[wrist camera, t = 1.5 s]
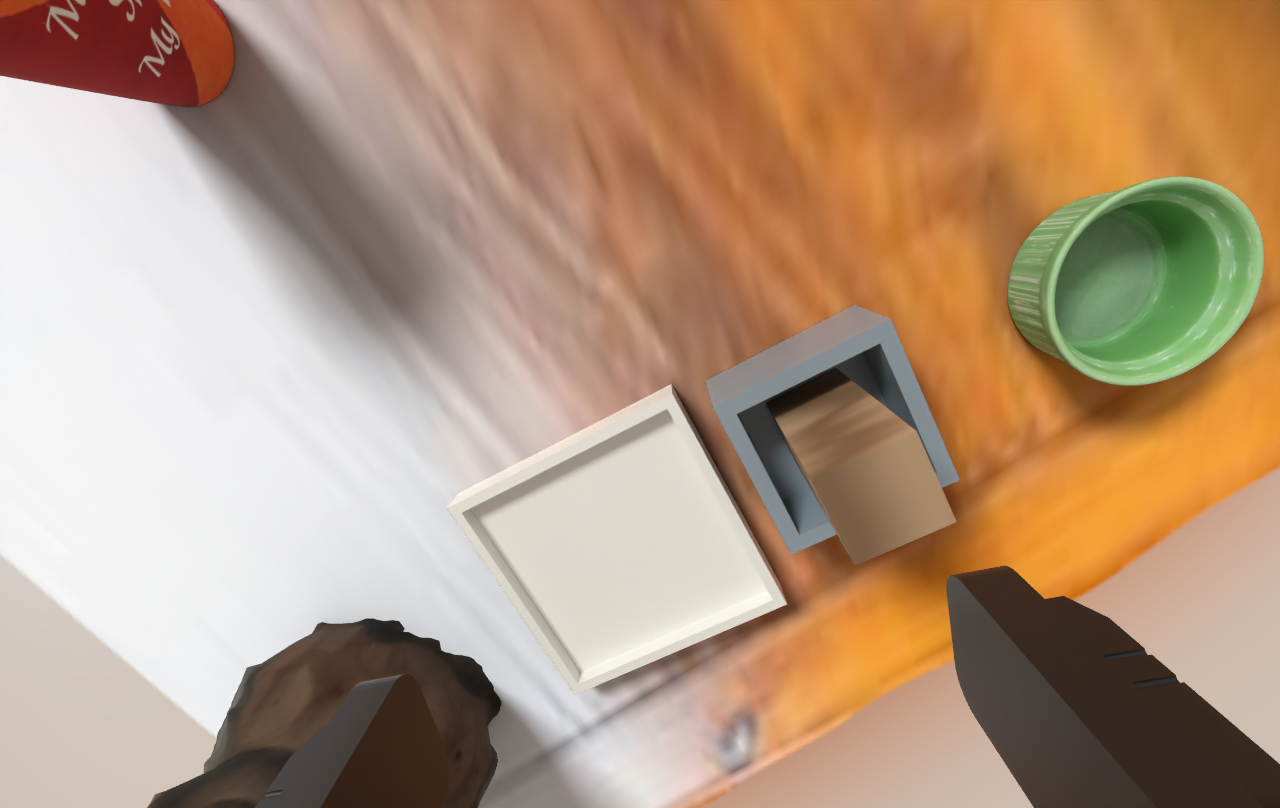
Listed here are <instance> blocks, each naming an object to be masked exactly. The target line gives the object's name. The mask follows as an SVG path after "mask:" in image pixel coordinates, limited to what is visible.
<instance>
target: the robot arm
mask: <svg viewBox="0 0 1280 808" xmlns="http://www.w3.org/2000/svg"><path fill="white" fill-rule="evenodd" d="M947 598H948V607H949V616H950V624H951V633H952V642H953V651H954V660H955V667H956V671H957V676H958V680H959V683H960V686H961V689H962V691H963V694H964V696H965V698H966V701H967V703H968V705H969V707H970V709H971V711H972V713H973V714H974V716H975V718H976V719H977V721H978V722H979V724H980V725H981V727H982V728H983V730H984V732H985V733H986V735H987V736H988V738H989V739H990V740H991V742H992V744H993V745H994V747H995V748H996V750H997V752H998V753H999V754H1000V756H1001V758H1002V759H1003V761H1004V762H1005V764H1006V765H1007V767H1008V768H1009V770H1010V771H1011V773H1012V774H1013V776H1014V778H1015V779H1016V781H1017V782H1018V784H1019V785H1020V787H1021V788H1022V790H1023V791H1024V793H1025V795H1026V796H1027V798H1028V799H1029V801H1030V802H1031V804H1032V805H1033V807H1034V808H1280V764H1279V763H1278V762H1276V761H1275V760H1274V759H1273V758H1272V757H1271V756H1269V755H1268V754H1267V753H1266V752H1265V751H1264V750H1263V749H1261V748H1260V747H1259V746H1258V745H1257V744H1255V743H1254V742H1253V741H1252V740H1251V739H1250V738H1249V737H1247V736H1246V735H1245V734H1244V733H1243V732H1242V731H1240V730H1239V729H1238V728H1237V727H1236V726H1235V725H1233V724H1232V723H1231V722H1229V720H1228V719H1226V718H1225V717H1224V716H1223V715H1221V714H1220V713H1219V712H1218V711H1217V710H1216V709H1215V708H1213V707H1212V706H1211V705H1210V704H1209V703H1208V702H1207V701H1205V700H1204V699H1203V698H1202V697H1201V696H1199V695H1198V694H1197V693H1196V692H1195V691H1194V690H1192V689H1191V688H1190V687H1189V686H1188V685H1187V684H1185V683H1184V682H1183V683H1180V682H1179V681H1178V680H1177V678H1176V675H1175V674H1174V673H1173V672H1171V671H1170V670H1169V669H1168V668H1167V667H1165V666H1164V665H1163V664H1162V663H1161V662H1160V661H1158V660H1157V659H1156V658H1155V657H1154V656H1153V655H1147V653H1146V652H1145V649H1144V648H1143V647H1142V646H1141V645H1140V644H1139V643H1138V642H1136V641H1135V640H1134V639H1133V638H1131V636H1129V635H1128V634H1127V633H1126V632H1125V631H1124V630H1122V629H1121V628H1120V627H1119V626H1117V624H1115V623H1114V622H1113V621H1112V620H1111V619H1110V618H1108V617H1106V616H1104V615H1102V614H1100V613H1098V612H1096V611H1093V610H1092V609H1089V608H1087V607H1085V606H1083V605H1081V604H1079V603H1077V602H1075V601H1073V600H1071V599H1069V598H1067V597H1065V596H1060V597H1055V598H1049V599H1044V598H1043V597H1042V596H1041V595H1040V594H1039V593H1038V592H1037V591H1036V590H1035V589H1033V588H1032V587H1031V586H1030V585H1029V584H1028V583H1027V582H1026V581H1025V580H1024V579H1023V578H1022V577H1021V576H1020V575H1019V574H1018V573H1017V572H1016V571H1014V570H1013V569H1012V568H1010V567H1008V566H1000V567H995V568H989V569H984V570H978V571H973V572H967V573H962V574H957V575H951V576H949V577H948V579H947ZM448 780H449V763H448V756H447V752H446V749H445V746H444V744H443V741H442V739H441V737H440V734H439V732H438V729H437V727H436V724H435V722H434V720H433V717H432V715H431V712H430V710H429V707H428V705H427V703H426V700H425V698H424V695H423V693H422V690H421V688H420V686H419V684H418V682H417V680H416V679H415V678H414V677H413V676H412V675H410V674H403V675H397V676H392V677H386V678H381V679H375V680H370V681H364V682H360V683H358V684H356V685H355V686H354V687H353V688H352V689H351V691H350V692H349V693H348V695H347V696H346V698H345V699H344V701H343V702H342V704H341V705H340V707H339V708H338V710H337V711H336V713H335V714H334V716H333V717H332V718H331V720H330V721H329V723H328V724H326V725H324V726H323V727H322V728H321V729H319V730H318V731H317V732H316V733H315V734H314V735H313V736H312V737H311V738H310V739H309V740H308V741H307V742H306V743H305V744H304V745H303V746H302V747H300V748H299V749H298V750H297V751H296V752H295V753H294V754H293V755H292V756H291V757H290V758H289V760H288V761H287V763H286V764H285V766H284V767H283V768H282V770H281V771H280V773H279V774H278V775H277V777H276V778H275V780H274V781H273V782H272V784H271V785H270V787H269V788H268V790H267V791H266V797H265V799H261V800H260V801H259V802H258V804H257V805H256V806H255V808H441V807H442V804H443V802H444V799H445V796H446V792H447V787H448Z"/></svg>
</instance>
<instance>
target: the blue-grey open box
mask: <svg viewBox="0 0 1280 808" xmlns="http://www.w3.org/2000/svg"><path fill="white" fill-rule="evenodd" d="M835 368H837V369H838V370H839V371H841V372H842V373H843V374H845V375H846V376H847V377H848V378H850V379H851V380H852V381H853V382H855V383H856V384H857V385H859V386H860V387H861V388H862V389H864V390H865V391H866V392H867V393H869V394H870V395H871V396H873V397H874V398H875V399H876V400H878V401H879V402H880V403H881V404H883V405H884V406H885V407H887V408H888V409H889V410H890V411H892V412H893V413H894V414H895V415H897V416H898V417H899V418H901V419H902V420H903V421H904V422H906V423H907V424H908V425H909V426H911V427H912V428H913V429H915V430H916V431H917V433H918V435H919V437H920V440H921V442H922V444H923V447H924V449H925V451H926V453H927V456H928V458H929V460H930V462H931V465H932V467H933V469H934V472H935V474H936V476H937V478H938V481H939V483H940V485H941V487H942V488H943V487H946V486H948V485H950V484H952V483H955V482H957V481H959V480H960V479H959V477H958V475H957V472H956V470H955V468H954V465H953V463H952V461H951V458H950V456H949V454H948V451H947V449H946V447H945V444H944V442H943V440H942V437H941V435H940V433H939V430H938V428H937V426H936V423H935V421H934V419H933V416H932V414H931V412H930V409H929V407H928V405H927V402H926V400H925V398H924V395H923V393H922V391H921V388H920V386H919V384H918V381H917V379H916V377H915V374H914V372H913V370H912V368H911V365H910V363H909V361H908V358H907V356H906V354H905V351H904V349H903V347H902V344H901V342H900V340H899V337H898V335H897V333H896V330H895V328H894V326H893V323H892V321H891V319H890V318H887V317H885V316H882V315H880V314H877V313H874V312H872V311H869V310H867V309H864V308H861V307H859V306H856V305H853V306H851V307H849V308H847V309H845V310H843V311H841V312H839V313H837V314H836V315H834V316H832V317H830V318H828V319H826V320H824V321H822V322H820V323H818V324H816V325H814V326H812V327H810V328H808V329H806V330H804V331H802V332H800V333H798V334H796V335H794V336H792V337H790V338H788V339H786V340H784V341H782V342H780V343H779V344H777V345H775V346H773V347H771V348H769V349H767V350H765V351H763V352H761V353H759V354H757V355H755V356H753V357H751V358H749V359H747V360H745V361H743V362H741V363H739V364H737V365H735V366H733V367H731V368H729V369H727V370H725V371H723V372H721V373H720V374H718V375H716V376H714V377H712V378H710V379H708V380H706V385H707V388H708V391H709V395H710V398H711V402H712V405H713V408H714V410H715V412H716V414H717V416H718V418H719V419H720V421H721V423H722V425H723V427H724V429H725V431H726V433H727V435H728V436H729V438H730V440H731V442H732V444H733V446H734V448H735V450H736V452H737V453H738V455H739V457H740V459H741V461H742V463H743V465H744V467H745V468H746V470H747V472H748V474H749V476H750V478H751V480H752V482H753V484H754V485H755V487H756V489H757V491H758V493H759V495H760V497H761V499H762V501H763V502H764V504H765V506H766V508H767V510H768V512H769V514H770V516H771V518H772V519H773V521H774V523H775V525H776V527H777V529H778V531H779V533H780V534H781V536H782V538H783V540H784V542H785V544H786V546H787V548H788V550H789V551H790V553H791V555H792V554H794V553H796V552H798V551H801V550H803V549H805V548H808V547H810V546H812V545H814V544H817V543H819V542H821V541H823V540H826V539H828V538H830V537H832V536H835V535H837V534H836V532H835V530H834V529H833V527H832V525H831V523H830V522H829V520H828V518H827V516H826V515H825V513H824V511H823V510H822V508H821V506H820V504H819V503H818V501H817V499H816V497H815V496H814V494H813V492H812V490H811V489H810V487H809V485H808V483H807V482H806V480H805V478H804V477H803V475H802V473H801V471H800V470H799V468H798V466H797V464H796V462H795V460H794V458H793V456H792V454H791V452H790V450H789V448H788V446H787V444H786V442H785V440H784V438H783V437H782V435H781V433H780V431H779V429H778V427H777V425H776V423H775V421H774V419H773V417H772V415H771V413H770V411H769V409H768V407H767V405H766V402H768V401H770V400H772V399H774V398H776V397H778V396H780V395H782V394H784V393H786V392H788V391H790V390H792V389H795V388H797V387H799V386H801V385H803V384H805V383H807V382H809V381H811V380H813V379H815V378H817V377H819V376H821V375H823V374H825V373H827V372H829V371H831V370H833V369H835Z"/></svg>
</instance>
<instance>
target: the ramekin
mask: <svg viewBox="0 0 1280 808" xmlns="http://www.w3.org/2000/svg"><path fill="white" fill-rule="evenodd" d="M1263 268H1264V247H1263V240H1262V236H1261V232H1260V229H1259V227H1258V224H1257V222H1256V220H1255V218H1254V216H1253V214H1252V213H1251V211H1250V210H1249V209H1248V207H1247V206H1246V205H1245V204H1244V203H1243V201H1242V200H1241V199H1240V198H1239V197H1237V196H1236V195H1235V194H1233V193H1232V192H1231V191H1229V190H1228V189H1226V188H1224V187H1223V186H1220V185H1218V184H1215V183H1213V182H1210V181H1207V180H1203V179H1199V178H1193V177H1166V178H1159V179H1154V180H1149V181H1145V182H1142V183H1138V184H1135V185H1132V186H1130V187H1127V188H1124V189H1122V190H1120V191H1114V192H1109V193H1104V194H1099V195H1094V196H1090V197H1086V198H1083V199H1080V200H1077V201H1075V202H1072V203H1071V204H1068V205H1066V206H1064V207H1062V208H1060V209H1059V210H1057V211H1055V212H1054V213H1052V214H1051V215H1050V216H1048V217H1047V218H1046V219H1045V220H1044V221H1042V222H1041V223H1040V224H1039V225H1038V226H1037V227H1036V228H1035V229H1034V230H1033V231H1032V232H1031V233H1030V235H1029V236H1028V238H1027V239H1026V240H1025V241H1024V243H1023V245H1022V247H1021V248H1020V250H1019V251H1018V253H1017V255H1016V257H1015V259H1014V262H1013V265H1012V268H1011V271H1010V275H1009V281H1008V294H1007V299H1008V305H1009V309H1010V313H1011V316H1012V319H1013V321H1014V323H1015V325H1016V327H1017V328H1018V329H1019V331H1020V332H1021V334H1022V335H1023V336H1024V337H1025V338H1026V339H1027V340H1028V341H1029V342H1030V343H1031V344H1032V345H1034V346H1035V347H1036V348H1038V349H1039V350H1041V351H1043V352H1045V353H1047V354H1049V355H1051V356H1053V357H1055V358H1057V359H1060V360H1062V361H1064V362H1066V363H1067V364H1068V365H1070V366H1071V367H1072V368H1074V369H1075V370H1077V371H1078V372H1080V373H1082V374H1084V375H1086V376H1088V377H1090V378H1092V379H1094V380H1097V381H1100V382H1104V383H1108V384H1113V385H1121V386H1138V385H1146V384H1152V383H1157V382H1161V381H1164V380H1168V379H1171V378H1173V377H1176V376H1179V375H1181V374H1183V373H1185V372H1187V371H1189V370H1191V369H1193V368H1195V367H1196V366H1198V365H1199V364H1201V363H1202V362H1204V361H1205V360H1207V359H1208V358H1209V357H1211V356H1212V355H1213V354H1215V353H1216V352H1217V351H1218V350H1219V349H1220V348H1221V347H1222V346H1224V345H1225V344H1226V343H1227V341H1228V340H1229V339H1230V338H1231V337H1232V336H1233V335H1234V334H1235V332H1236V331H1237V330H1238V329H1239V327H1240V326H1241V324H1242V323H1243V322H1244V320H1245V318H1246V317H1247V315H1248V314H1249V312H1250V310H1251V308H1252V306H1253V304H1254V301H1255V299H1256V296H1257V294H1258V291H1259V287H1260V284H1261V280H1262V274H1263Z"/></svg>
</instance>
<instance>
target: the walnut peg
mask: <svg viewBox="0 0 1280 808" xmlns="http://www.w3.org/2000/svg"><path fill="white" fill-rule="evenodd" d="M766 405H767V407H768V409H769V411H770V413H771V415H772V417H773V419H774V421H775V423H776V425H777V427H778V429H779V431H780V433H781V435H782V437H783V438H784V440H785V442H786V444H787V446H788V448H789V450H790V452H791V454H792V456H793V458H794V460H795V462H796V464H797V466H798V468H799V470H800V471H801V473H802V475H803V477H804V478H805V480H806V482H807V483H808V485H809V487H810V489H811V490H812V492H813V494H814V496H815V497H816V499H817V501H818V503H819V504H820V506H821V508H822V510H823V511H824V513H825V515H826V516H827V518H828V520H829V522H830V523H831V525H832V527H833V529H834V530H835V532H836V534H837V536H838V537H839V539H840V541H841V543H842V544H843V546H844V548H845V550H846V551H847V553H848V555H849V556H850V558H851V560H852V562H853V563H854V565H855V566H856V565H858V564H860V563H863V562H865V561H867V560H870V559H872V558H874V557H877V556H879V555H881V554H884V553H886V552H888V551H891V550H893V549H895V548H898V547H900V546H902V545H905V544H907V543H909V542H912V541H914V540H916V539H919V538H921V537H923V536H925V535H928V534H930V533H932V532H935V531H937V530H939V529H942V528H944V527H946V526H949V525H951V524H953V523H956V519H955V517H954V515H953V512H952V510H951V508H950V506H949V503H948V501H947V499H946V497H945V494H944V492H943V490H942V487H941V485H940V483H939V481H938V478H937V476H936V474H935V472H934V469H933V467H932V465H931V462H930V460H929V458H928V456H927V453H926V451H925V449H924V447H923V444H922V442H921V440H920V437H919V435H918V433H917V431H916V430H915V429H913V428H912V427H911V426H909V425H908V424H907V423H906V422H904V421H903V420H902V419H901V418H899V417H898V416H897V415H895V414H894V413H893V412H892V411H890V410H889V409H888V408H887V407H885V406H884V405H883V404H881V403H880V402H879V401H878V400H876V399H875V398H874V397H873V396H871V395H870V394H869V393H867V392H866V391H865V390H864V389H862V388H861V387H860V386H859V385H857V384H856V383H855V382H853V381H852V380H851V379H850V378H848V377H847V376H846V375H845V374H843V373H842V372H841V371H839V370H838V369H837V368H835V369H833V370H831V371H829V372H827V373H825V374H823V375H821V376H819V377H817V378H815V379H813V380H811V381H809V382H807V383H805V384H803V385H801V386H799V387H797V388H795V389H792V390H790V391H788V392H786V393H784V394H782V395H780V396H778V397H776V398H774V399H772V400H770V401H768V402H766Z"/></svg>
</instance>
